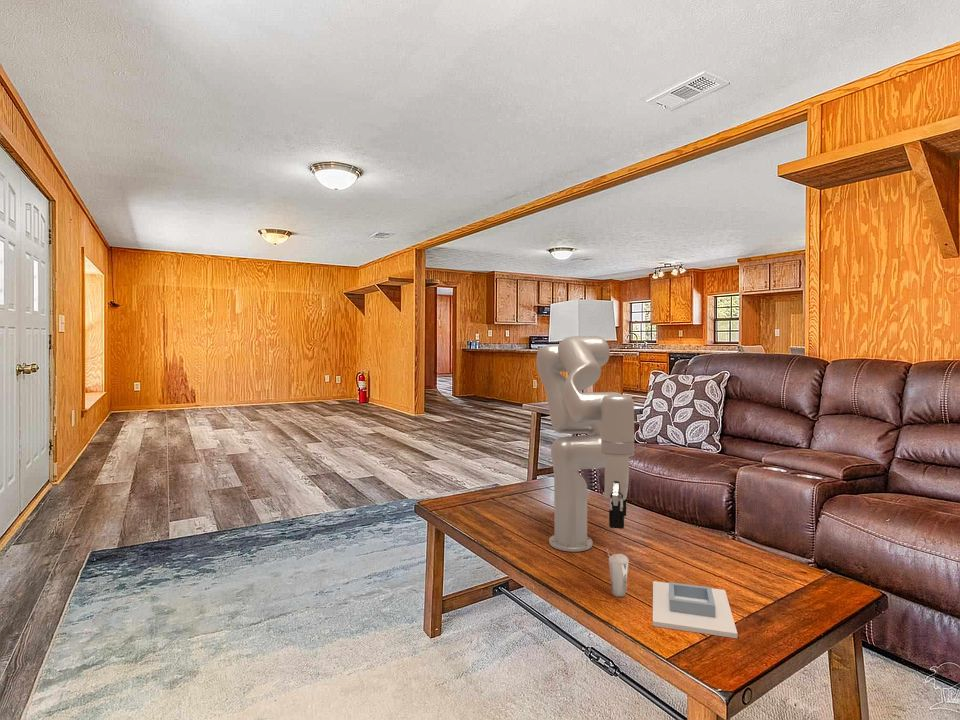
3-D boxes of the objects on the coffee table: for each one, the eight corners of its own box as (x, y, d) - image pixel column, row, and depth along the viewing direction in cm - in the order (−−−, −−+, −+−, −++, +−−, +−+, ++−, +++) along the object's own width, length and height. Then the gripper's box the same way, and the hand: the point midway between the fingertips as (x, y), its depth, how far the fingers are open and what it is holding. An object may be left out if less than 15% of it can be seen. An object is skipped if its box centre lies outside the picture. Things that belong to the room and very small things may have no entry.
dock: (652, 585, 130) (653, 570, 130) (724, 594, 126) (725, 579, 125) (652, 626, 111) (652, 609, 111) (737, 638, 107) (737, 621, 106)
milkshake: (610, 586, 130) (610, 545, 130) (631, 593, 126) (632, 550, 126) (602, 593, 126) (602, 551, 126) (623, 600, 123) (623, 556, 123)
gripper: (604, 441, 135) (604, 510, 135) (597, 453, 118) (597, 531, 118) (635, 443, 132) (636, 512, 132) (632, 455, 116) (633, 534, 116)
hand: (618, 521), depth 125 cm, fingers open, 9 cm apart
